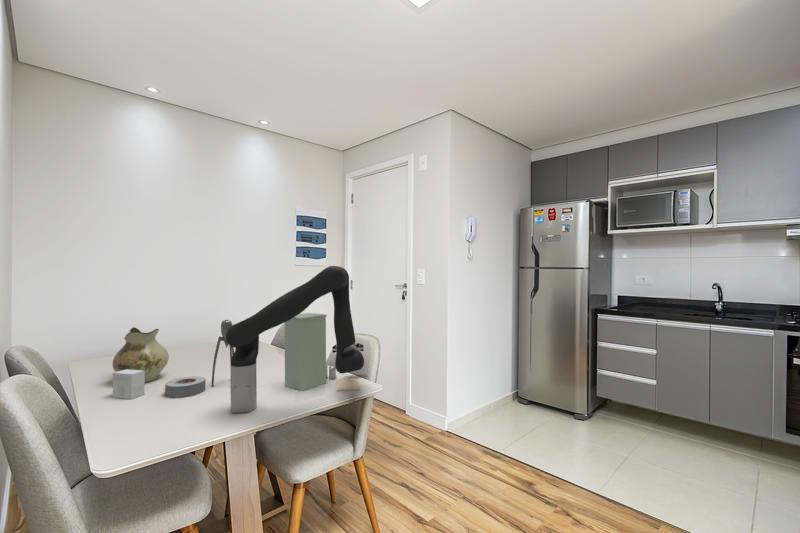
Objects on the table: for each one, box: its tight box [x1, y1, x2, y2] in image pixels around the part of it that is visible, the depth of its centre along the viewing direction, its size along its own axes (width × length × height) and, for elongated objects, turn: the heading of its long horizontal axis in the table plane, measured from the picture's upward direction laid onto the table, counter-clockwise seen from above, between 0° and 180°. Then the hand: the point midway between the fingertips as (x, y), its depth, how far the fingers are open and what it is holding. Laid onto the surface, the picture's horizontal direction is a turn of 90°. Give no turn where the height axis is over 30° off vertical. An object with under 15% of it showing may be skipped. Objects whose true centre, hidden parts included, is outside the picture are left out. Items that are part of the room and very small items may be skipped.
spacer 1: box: [326, 364, 329, 380], centre depth 184 cm, size 3×3×6 cm
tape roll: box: [164, 375, 206, 399], centre depth 165 cm, size 15×15×5 cm
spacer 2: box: [328, 365, 337, 381], centre depth 183 cm, size 3×3×6 cm
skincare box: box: [112, 369, 146, 400], centre depth 160 cm, size 10×6×10 cm, turn 74°
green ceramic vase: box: [112, 327, 170, 383], centre depth 183 cm, size 22×24×25 cm
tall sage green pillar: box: [284, 312, 328, 392], centre depth 174 cm, size 13×15×32 cm
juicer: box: [211, 319, 235, 388], centre depth 174 cm, size 10×11×30 cm
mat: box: [335, 377, 360, 392], centre depth 173 cm, size 16×10×1 cm, turn 9°
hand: (347, 344), depth 172 cm, fingers closed on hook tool, 4 cm apart
